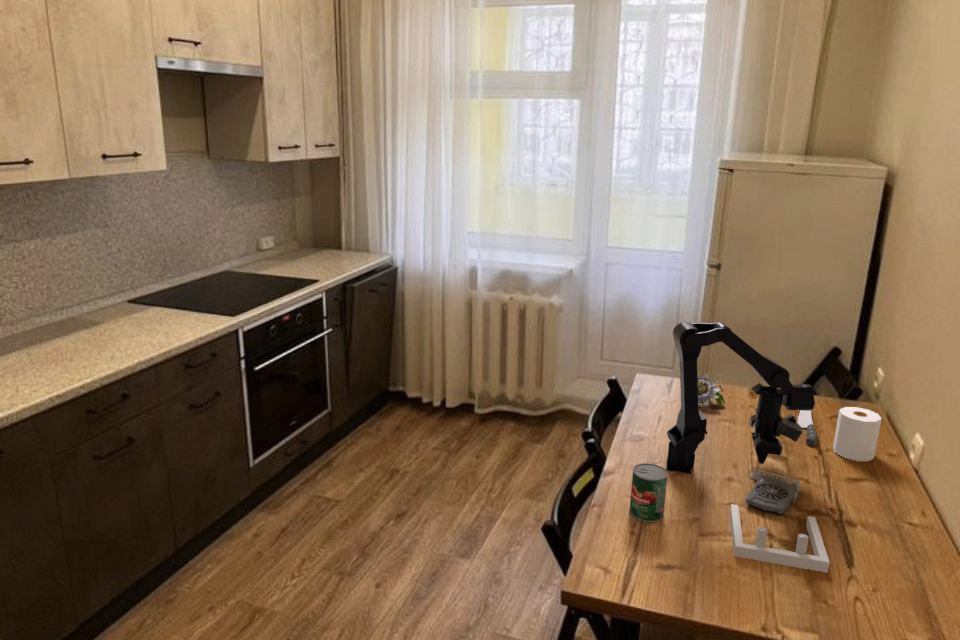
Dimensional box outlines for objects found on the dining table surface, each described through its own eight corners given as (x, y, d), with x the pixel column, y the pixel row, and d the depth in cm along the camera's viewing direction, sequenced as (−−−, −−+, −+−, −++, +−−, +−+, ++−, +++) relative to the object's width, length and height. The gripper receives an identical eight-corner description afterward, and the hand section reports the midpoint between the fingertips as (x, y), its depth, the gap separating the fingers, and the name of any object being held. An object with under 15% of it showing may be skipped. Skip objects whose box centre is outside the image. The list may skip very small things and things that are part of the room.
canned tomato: (665, 508, 165) (669, 466, 162) (662, 525, 158) (666, 482, 155) (631, 501, 168) (635, 460, 164) (627, 518, 160) (630, 476, 157)
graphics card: (752, 466, 180) (802, 479, 173) (751, 479, 181) (800, 492, 174) (733, 493, 167) (786, 508, 160) (732, 507, 168) (784, 523, 161)
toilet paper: (834, 457, 192) (841, 417, 188) (831, 442, 201) (838, 404, 198) (875, 465, 188) (883, 424, 185) (870, 449, 197) (878, 409, 194)
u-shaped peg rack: (734, 556, 147) (737, 531, 145) (729, 513, 163) (732, 490, 162) (827, 572, 142) (832, 547, 141) (813, 526, 158) (817, 503, 157)
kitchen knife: (793, 405, 226) (810, 403, 224) (794, 412, 226) (811, 411, 224) (798, 440, 199) (817, 438, 197) (799, 448, 200) (818, 447, 198)
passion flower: (695, 422, 226) (676, 392, 225) (702, 405, 235) (683, 376, 233) (727, 411, 219) (707, 380, 218) (732, 394, 228) (713, 364, 227)
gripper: (808, 427, 169) (798, 484, 174) (797, 399, 187) (789, 452, 191) (759, 421, 172) (751, 477, 177) (753, 394, 190) (746, 446, 194)
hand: (761, 463), depth 184 cm, fingers closed
